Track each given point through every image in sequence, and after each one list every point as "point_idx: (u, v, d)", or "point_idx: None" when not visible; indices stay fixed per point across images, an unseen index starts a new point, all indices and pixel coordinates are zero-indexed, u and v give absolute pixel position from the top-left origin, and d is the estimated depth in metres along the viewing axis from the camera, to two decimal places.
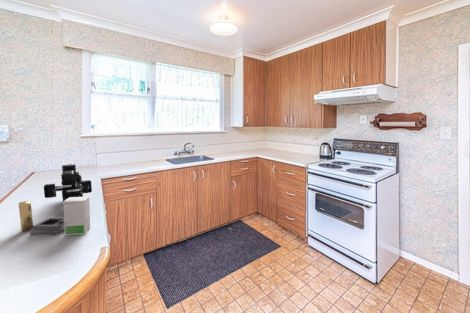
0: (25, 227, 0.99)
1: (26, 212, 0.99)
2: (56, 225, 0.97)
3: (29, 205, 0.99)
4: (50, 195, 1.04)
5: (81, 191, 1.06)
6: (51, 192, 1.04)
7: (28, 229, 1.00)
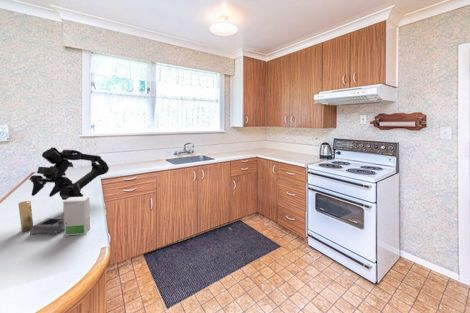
0: (25, 227, 0.99)
1: (26, 212, 0.99)
2: (56, 225, 0.97)
3: (29, 205, 0.99)
4: None
5: (52, 194, 1.07)
6: None
7: (28, 229, 1.00)
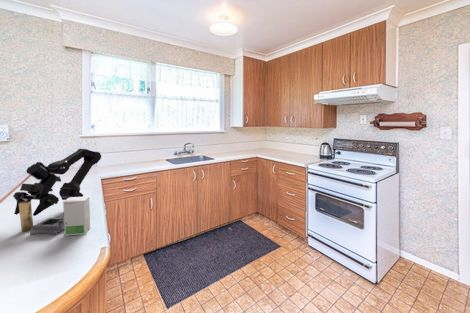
0: (25, 227, 0.99)
1: (27, 212, 0.99)
2: (56, 225, 0.97)
3: (29, 205, 0.99)
4: None
5: (37, 213, 1.00)
6: (21, 201, 1.04)
7: (28, 229, 1.00)
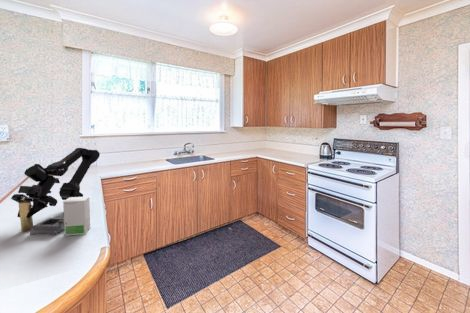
0: (25, 227, 0.99)
1: (27, 212, 0.99)
2: (56, 225, 0.97)
3: (29, 205, 0.99)
4: None
5: (30, 215, 0.99)
6: None
7: (28, 229, 1.00)
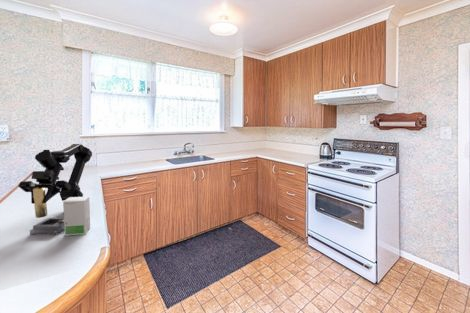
0: (41, 212, 0.98)
1: (42, 197, 0.98)
2: (56, 225, 0.97)
3: (44, 190, 0.99)
4: None
5: (46, 200, 0.99)
6: None
7: (44, 215, 0.99)
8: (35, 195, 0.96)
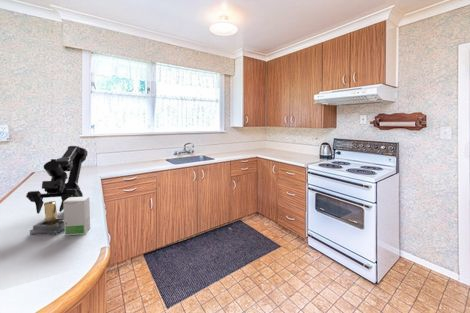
0: None
1: (54, 211, 1.00)
2: (56, 225, 0.97)
3: (55, 205, 1.01)
4: None
5: (62, 209, 1.01)
6: None
7: None
8: (47, 210, 0.98)
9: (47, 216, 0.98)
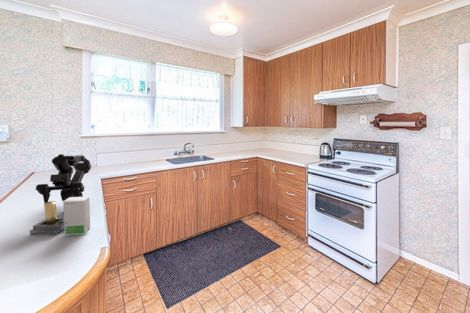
0: None
1: (54, 211, 1.00)
2: (56, 225, 0.97)
3: (55, 205, 1.00)
4: None
5: None
6: None
7: None
8: (47, 210, 0.98)
9: (47, 216, 0.98)
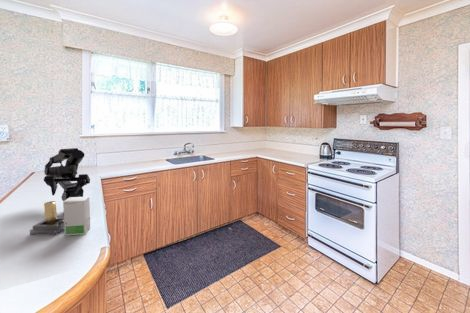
0: None
1: (54, 211, 1.00)
2: (56, 225, 0.97)
3: (55, 205, 1.00)
4: None
5: (76, 191, 1.12)
6: None
7: None
8: (47, 210, 0.98)
9: (47, 216, 0.98)
